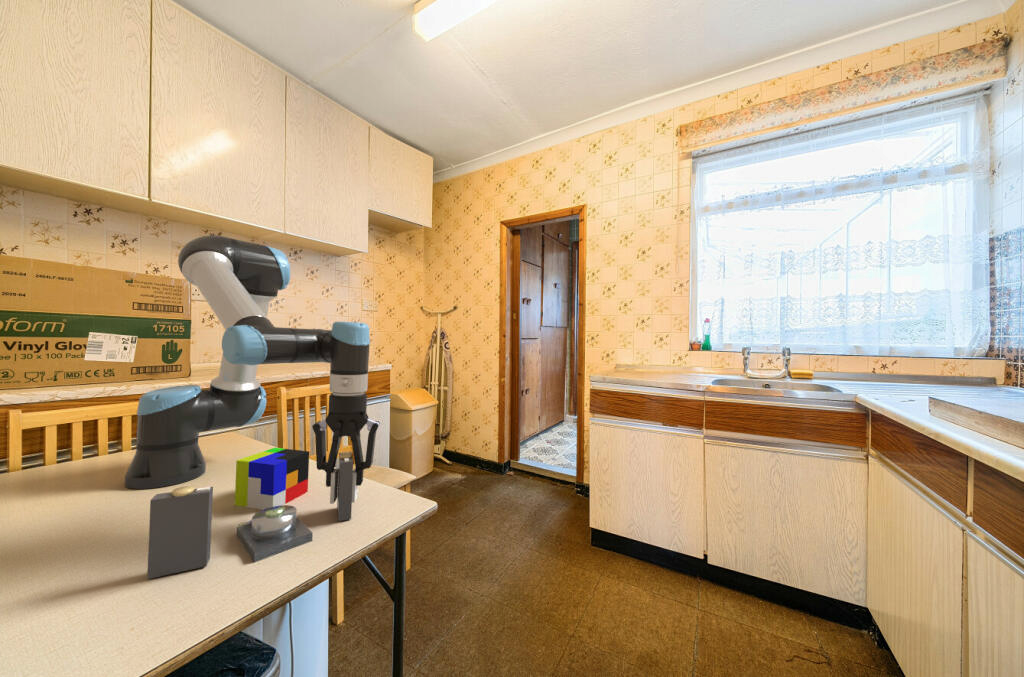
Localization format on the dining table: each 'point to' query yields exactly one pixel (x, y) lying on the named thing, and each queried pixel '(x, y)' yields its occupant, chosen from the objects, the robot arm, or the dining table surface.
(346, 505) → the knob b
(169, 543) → the dark grey flat block
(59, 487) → the dining table surface
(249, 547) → the levelling plate
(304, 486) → the puzzle toy
